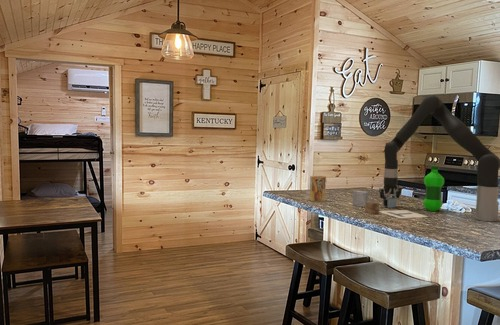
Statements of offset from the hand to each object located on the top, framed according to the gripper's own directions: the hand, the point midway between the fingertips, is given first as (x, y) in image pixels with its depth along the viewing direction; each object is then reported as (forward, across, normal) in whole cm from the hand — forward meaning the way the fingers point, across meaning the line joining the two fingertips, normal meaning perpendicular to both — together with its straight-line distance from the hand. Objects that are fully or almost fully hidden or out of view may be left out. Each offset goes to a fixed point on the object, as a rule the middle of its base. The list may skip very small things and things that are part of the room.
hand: (389, 205), depth 240 cm
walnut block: (+1, +21, +13) cm, 25 cm away
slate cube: (+1, 0, 0) cm, 1 cm away
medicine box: (+1, +14, -8) cm, 16 cm away
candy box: (+1, +30, -31) cm, 43 cm away
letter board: (+1, +6, +19) cm, 20 cm away
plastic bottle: (+1, -20, +12) cm, 23 cm away
